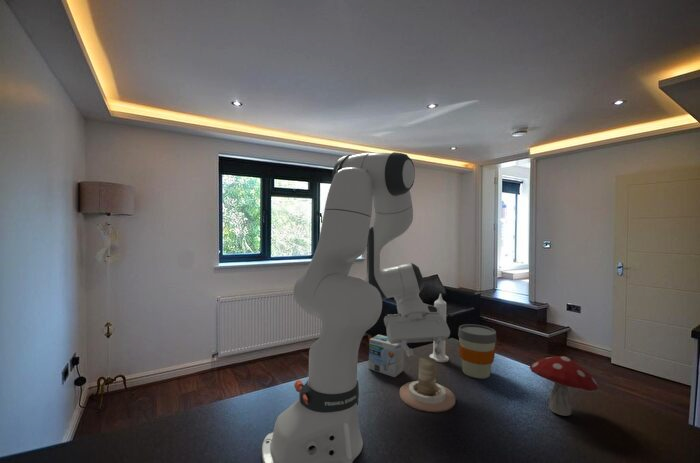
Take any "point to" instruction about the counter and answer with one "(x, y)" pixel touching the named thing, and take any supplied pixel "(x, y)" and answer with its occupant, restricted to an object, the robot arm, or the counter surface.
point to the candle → (442, 357)
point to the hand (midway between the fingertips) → (425, 354)
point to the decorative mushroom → (563, 380)
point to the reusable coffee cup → (476, 349)
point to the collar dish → (427, 398)
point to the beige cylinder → (427, 376)
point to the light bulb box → (385, 356)
